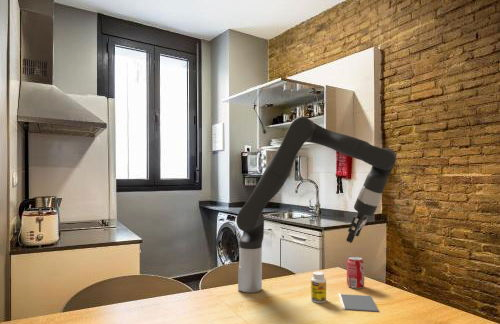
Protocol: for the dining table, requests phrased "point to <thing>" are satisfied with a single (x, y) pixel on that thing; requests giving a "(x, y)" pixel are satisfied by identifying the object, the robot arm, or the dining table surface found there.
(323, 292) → the supplement bottle
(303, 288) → the dining table surface
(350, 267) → the soda can
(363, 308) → the mat
